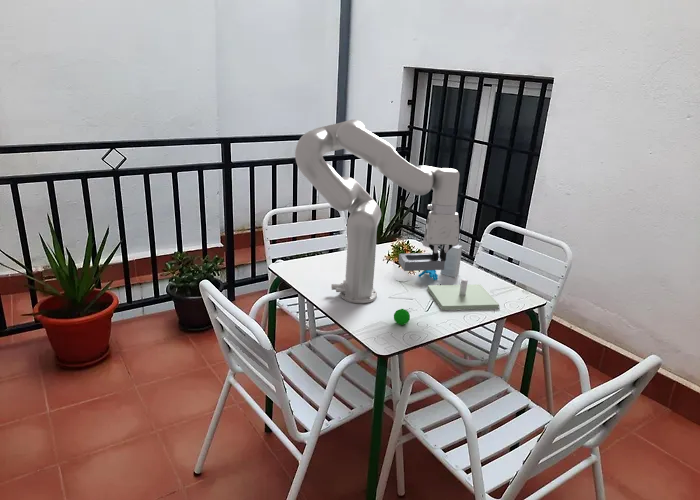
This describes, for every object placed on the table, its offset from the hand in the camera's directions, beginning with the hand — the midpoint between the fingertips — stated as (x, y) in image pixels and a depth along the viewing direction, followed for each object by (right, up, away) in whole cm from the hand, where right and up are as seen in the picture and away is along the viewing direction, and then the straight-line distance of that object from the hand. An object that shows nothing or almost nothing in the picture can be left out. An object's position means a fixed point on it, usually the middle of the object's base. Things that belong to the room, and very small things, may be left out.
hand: (438, 262), depth 160 cm
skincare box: (+10, -5, +32) cm, 34 cm away
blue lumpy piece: (+1, -7, +28) cm, 28 cm away
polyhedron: (-13, -19, -7) cm, 24 cm away
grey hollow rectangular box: (-6, -1, -1) cm, 6 cm away
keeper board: (+10, -13, +12) cm, 20 cm away
